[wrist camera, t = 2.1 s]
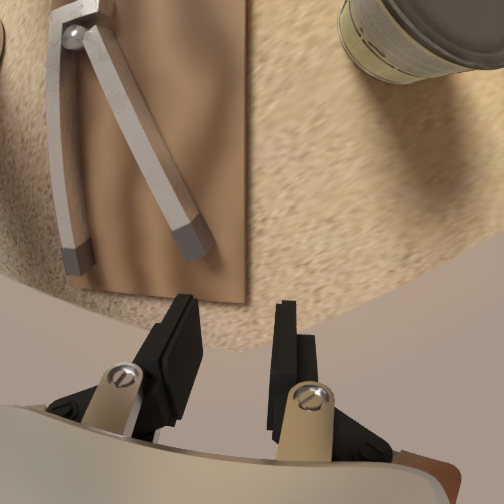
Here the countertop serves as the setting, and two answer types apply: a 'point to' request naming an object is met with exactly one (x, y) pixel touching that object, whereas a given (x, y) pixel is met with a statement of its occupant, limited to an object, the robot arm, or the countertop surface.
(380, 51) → the coffee can
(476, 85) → the countertop surface
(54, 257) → the countertop surface
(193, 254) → the tongs arm
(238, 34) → the walnut board
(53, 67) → the tongs fixed arm
